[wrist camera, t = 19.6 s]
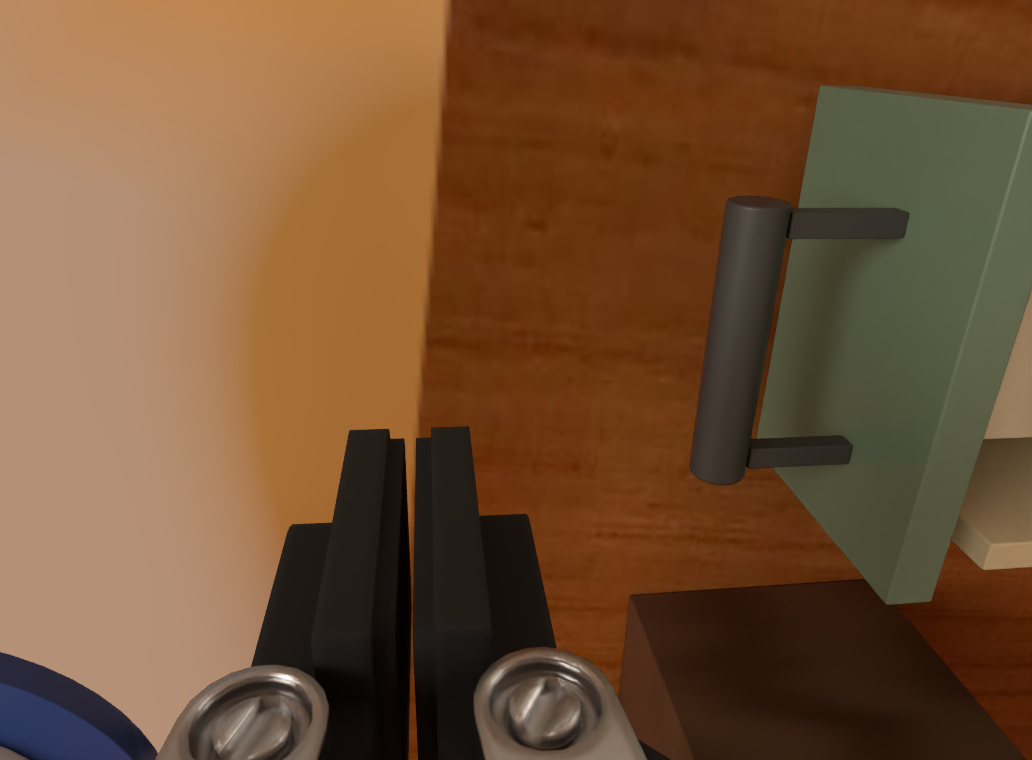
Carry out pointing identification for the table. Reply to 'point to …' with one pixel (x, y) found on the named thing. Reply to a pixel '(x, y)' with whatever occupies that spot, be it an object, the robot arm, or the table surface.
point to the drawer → (883, 334)
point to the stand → (795, 679)
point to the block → (1015, 388)
